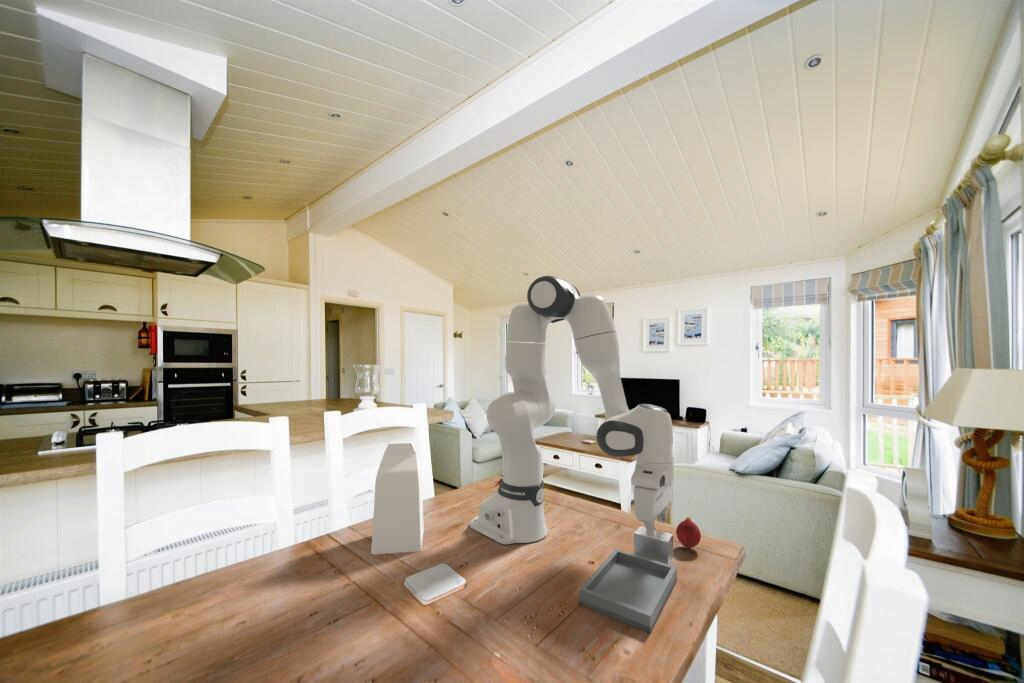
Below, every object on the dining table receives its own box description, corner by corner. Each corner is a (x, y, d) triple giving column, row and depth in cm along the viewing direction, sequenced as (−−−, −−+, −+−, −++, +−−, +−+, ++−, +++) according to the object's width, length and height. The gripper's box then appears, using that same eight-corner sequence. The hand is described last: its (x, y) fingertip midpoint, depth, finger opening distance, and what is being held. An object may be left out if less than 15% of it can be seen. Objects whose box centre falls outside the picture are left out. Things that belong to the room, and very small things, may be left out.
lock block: (633, 557, 98) (633, 533, 98) (640, 549, 102) (640, 525, 102) (667, 568, 93) (667, 542, 93) (673, 559, 97) (673, 534, 97)
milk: (371, 554, 98) (372, 448, 99) (379, 533, 110) (380, 438, 110) (420, 551, 100) (421, 447, 101) (423, 530, 112) (424, 437, 112)
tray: (579, 604, 79) (579, 589, 80) (615, 561, 96) (615, 548, 96) (650, 633, 71) (650, 616, 72) (676, 580, 88) (676, 567, 88)
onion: (703, 555, 99) (703, 523, 99) (678, 552, 100) (678, 520, 100) (697, 544, 105) (697, 513, 105) (674, 542, 106) (674, 511, 106)
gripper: (653, 459, 108) (655, 511, 108) (628, 479, 91) (630, 541, 91) (678, 463, 105) (680, 516, 104) (656, 484, 88) (658, 548, 87)
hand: (656, 528), depth 97 cm, fingers open, 8 cm apart
